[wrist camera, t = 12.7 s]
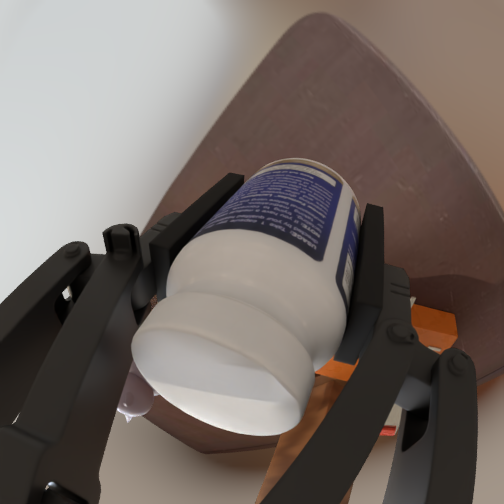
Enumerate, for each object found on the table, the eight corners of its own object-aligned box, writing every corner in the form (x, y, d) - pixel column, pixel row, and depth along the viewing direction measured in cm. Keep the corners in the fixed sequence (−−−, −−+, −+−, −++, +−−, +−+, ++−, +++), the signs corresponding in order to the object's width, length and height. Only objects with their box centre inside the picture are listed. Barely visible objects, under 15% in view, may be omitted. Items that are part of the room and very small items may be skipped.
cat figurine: (140, 320, 43) (92, 383, 34) (189, 347, 42) (146, 416, 33) (139, 350, 48) (99, 405, 39) (182, 374, 48) (145, 434, 38)
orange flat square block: (468, 289, 24) (474, 313, 21) (413, 374, 31) (413, 396, 29) (347, 257, 27) (343, 279, 24) (316, 351, 34) (310, 373, 32)
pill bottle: (222, 204, 16) (90, 346, 9) (301, 128, 13) (172, 255, 5) (299, 281, 17) (228, 451, 9) (386, 225, 14) (375, 431, 6)
